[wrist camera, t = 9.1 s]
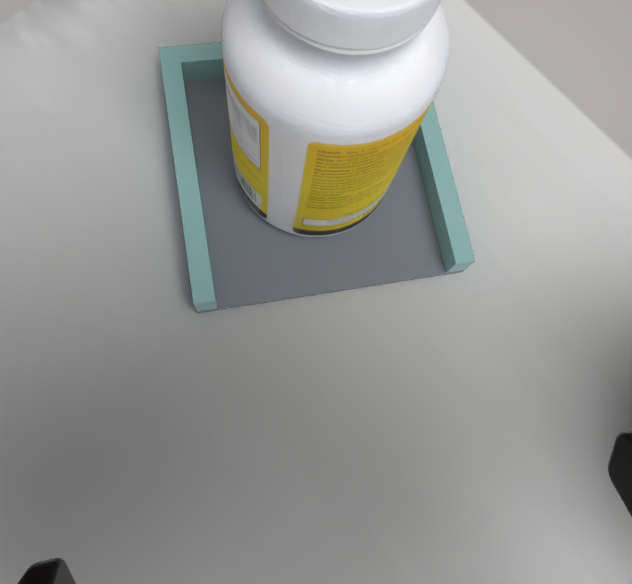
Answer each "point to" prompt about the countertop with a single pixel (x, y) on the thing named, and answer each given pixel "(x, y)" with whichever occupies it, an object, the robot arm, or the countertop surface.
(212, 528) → the countertop surface
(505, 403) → the countertop surface
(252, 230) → the dock
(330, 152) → the pill bottle
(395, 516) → the countertop surface
